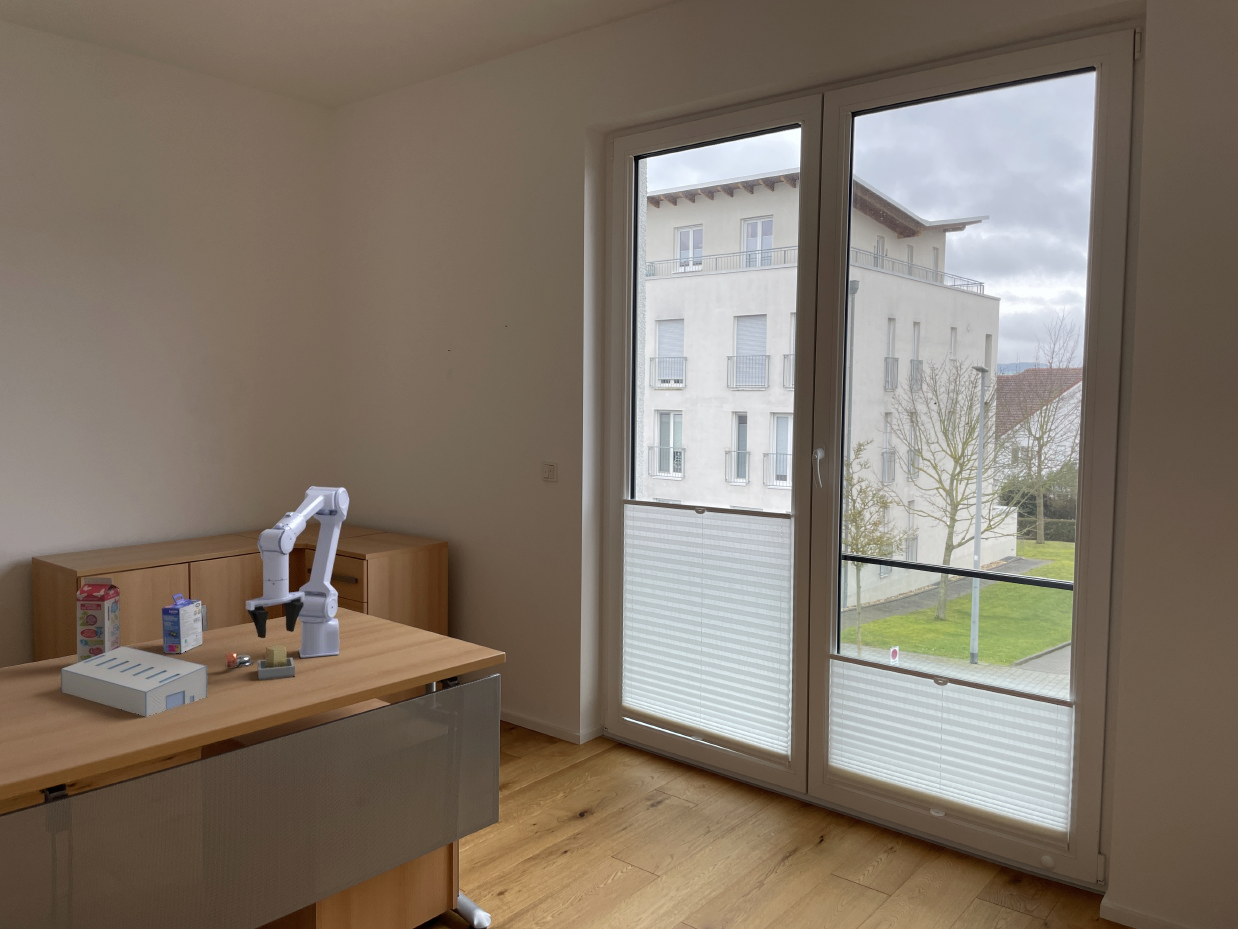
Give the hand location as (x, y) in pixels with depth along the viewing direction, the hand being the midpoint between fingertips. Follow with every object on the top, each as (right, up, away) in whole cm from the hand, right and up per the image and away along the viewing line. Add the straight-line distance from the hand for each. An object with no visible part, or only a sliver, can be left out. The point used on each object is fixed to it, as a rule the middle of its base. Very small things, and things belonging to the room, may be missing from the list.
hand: (276, 634), depth 210 cm
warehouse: (-25, -11, -17) cm, 32 cm away
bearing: (-12, -9, +7) cm, 17 cm away
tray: (0, -10, +1) cm, 10 cm away
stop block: (0, -9, +1) cm, 9 cm away
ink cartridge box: (-33, -8, +20) cm, 39 cm away
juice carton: (-45, -9, +3) cm, 46 cm away
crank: (-12, -8, +5) cm, 15 cm away
